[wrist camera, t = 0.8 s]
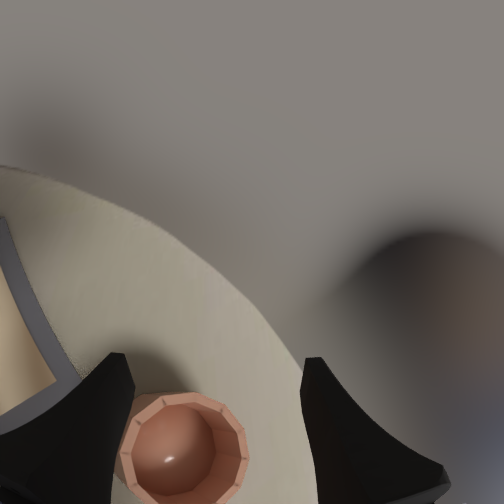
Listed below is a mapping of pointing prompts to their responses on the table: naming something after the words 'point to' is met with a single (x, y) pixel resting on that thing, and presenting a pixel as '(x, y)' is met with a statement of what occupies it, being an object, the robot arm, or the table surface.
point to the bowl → (182, 450)
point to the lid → (18, 356)
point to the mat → (5, 255)
